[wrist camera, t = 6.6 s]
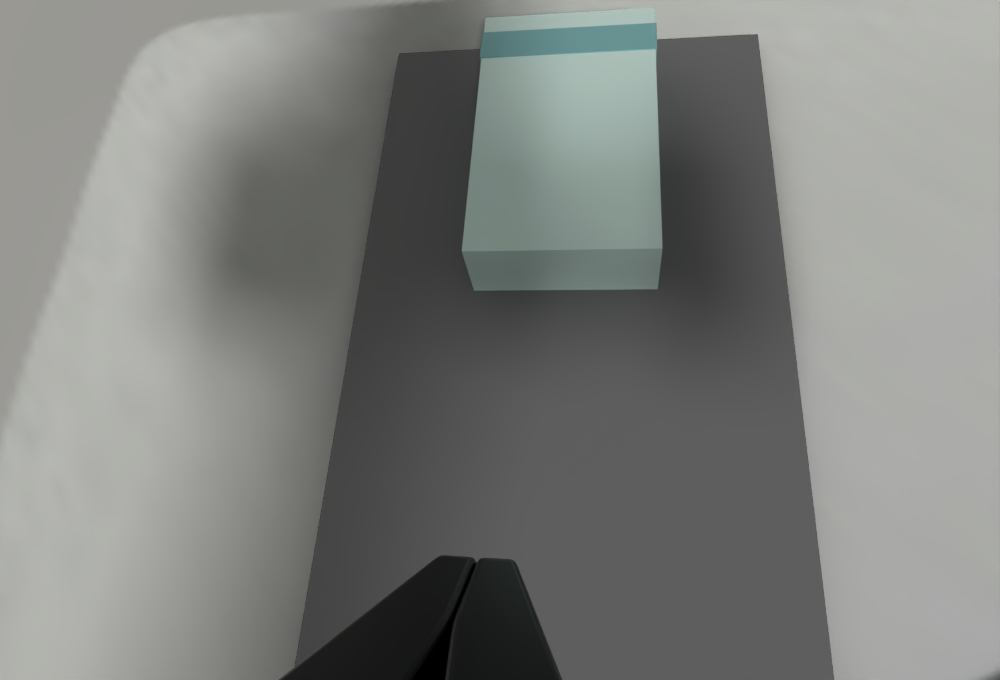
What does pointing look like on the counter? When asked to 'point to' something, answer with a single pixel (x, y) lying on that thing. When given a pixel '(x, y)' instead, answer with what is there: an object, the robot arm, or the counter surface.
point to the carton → (566, 154)
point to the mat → (585, 403)
